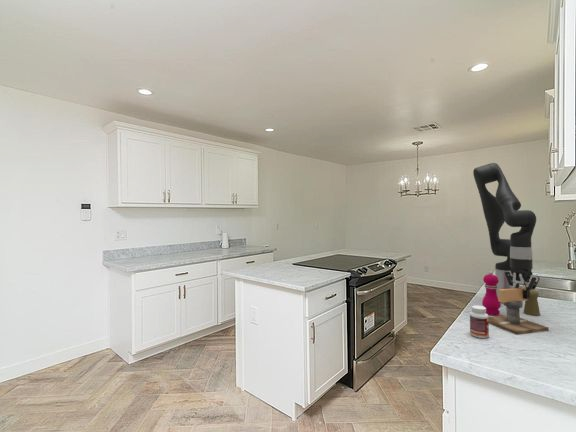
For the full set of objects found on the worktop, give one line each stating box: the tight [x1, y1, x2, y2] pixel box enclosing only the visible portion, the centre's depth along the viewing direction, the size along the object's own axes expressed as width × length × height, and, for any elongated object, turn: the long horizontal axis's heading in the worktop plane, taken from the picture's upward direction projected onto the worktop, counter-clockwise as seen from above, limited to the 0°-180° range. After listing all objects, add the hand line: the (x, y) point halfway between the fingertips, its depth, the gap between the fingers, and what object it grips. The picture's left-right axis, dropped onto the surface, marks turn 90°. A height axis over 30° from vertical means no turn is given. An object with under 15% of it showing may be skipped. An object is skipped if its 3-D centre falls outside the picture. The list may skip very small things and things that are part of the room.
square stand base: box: [488, 306, 549, 336], centre depth 125 cm, size 16×16×8 cm
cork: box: [523, 290, 541, 317], centre depth 138 cm, size 6×6×11 cm
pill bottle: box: [469, 305, 490, 339], centre depth 115 cm, size 6×6×11 cm
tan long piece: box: [498, 286, 527, 309], centre depth 125 cm, size 6×12×8 cm, turn 99°
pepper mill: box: [481, 270, 502, 316], centre depth 140 cm, size 7×7×20 cm
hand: (521, 297), depth 126 cm, fingers open, 3 cm apart
